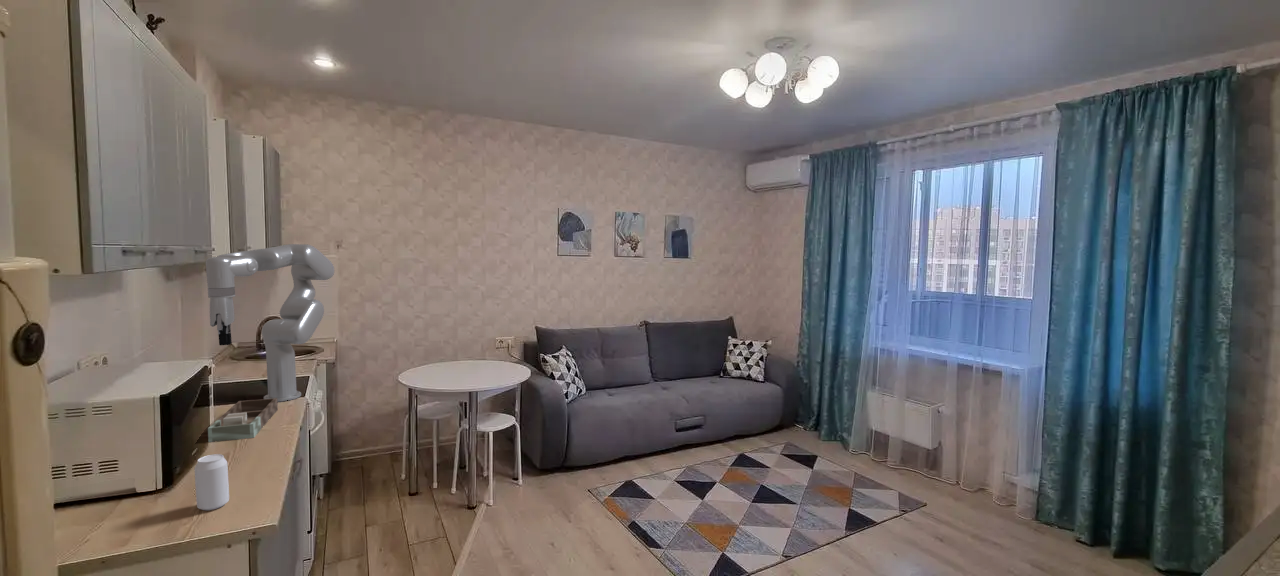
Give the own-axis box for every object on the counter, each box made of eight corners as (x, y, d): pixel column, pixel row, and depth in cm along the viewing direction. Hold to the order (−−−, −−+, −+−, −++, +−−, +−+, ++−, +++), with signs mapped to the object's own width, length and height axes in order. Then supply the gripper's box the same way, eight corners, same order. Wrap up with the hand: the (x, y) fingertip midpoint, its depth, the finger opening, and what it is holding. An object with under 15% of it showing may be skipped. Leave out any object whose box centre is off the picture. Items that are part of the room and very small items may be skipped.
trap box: (239, 413, 199) (238, 401, 199) (277, 409, 204) (277, 398, 203) (208, 442, 172) (207, 428, 171) (254, 437, 176) (253, 424, 175)
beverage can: (222, 497, 136) (219, 451, 135) (234, 504, 133) (231, 456, 132) (192, 508, 131) (189, 459, 130) (204, 515, 128) (201, 465, 126)
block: (229, 425, 179) (228, 413, 179) (247, 424, 181) (246, 412, 181) (223, 430, 175) (223, 418, 174) (242, 429, 176) (241, 417, 176)
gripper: (215, 290, 195) (219, 341, 197) (200, 295, 181) (204, 350, 183) (240, 290, 198) (244, 339, 200) (228, 294, 184) (232, 348, 186)
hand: (225, 344), depth 191 cm, fingers closed
